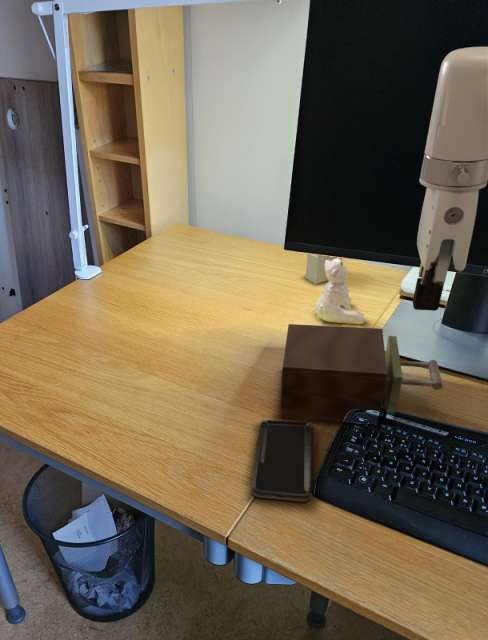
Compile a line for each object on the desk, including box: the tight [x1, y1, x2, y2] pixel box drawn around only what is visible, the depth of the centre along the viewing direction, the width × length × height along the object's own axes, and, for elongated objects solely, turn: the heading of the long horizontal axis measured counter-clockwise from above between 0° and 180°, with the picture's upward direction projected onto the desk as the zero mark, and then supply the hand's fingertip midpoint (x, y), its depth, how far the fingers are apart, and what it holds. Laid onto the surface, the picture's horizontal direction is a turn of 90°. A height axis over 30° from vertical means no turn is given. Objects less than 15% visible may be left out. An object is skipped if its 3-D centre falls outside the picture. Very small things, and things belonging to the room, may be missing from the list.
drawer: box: [383, 335, 444, 413], centre depth 86 cm, size 20×11×8 cm, turn 78°
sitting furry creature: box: [314, 258, 365, 325], centre depth 107 cm, size 10×9×12 cm
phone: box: [251, 419, 314, 503], centre depth 79 cm, size 8×1×15 cm
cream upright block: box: [305, 253, 343, 285], centre depth 122 cm, size 4×7×10 cm, turn 118°
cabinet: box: [279, 323, 388, 424], centre depth 87 cm, size 15×13×10 cm
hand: (424, 307), depth 78 cm, fingers closed
